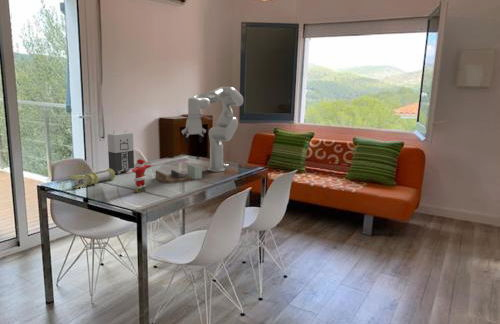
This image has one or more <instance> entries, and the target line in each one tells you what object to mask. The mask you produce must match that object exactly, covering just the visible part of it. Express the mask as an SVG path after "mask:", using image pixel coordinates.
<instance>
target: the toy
mask: <svg viewBox="0 0 500 324" xmlns="http://www.w3.org/2000/svg"><path fill="white" fill-rule="evenodd" d="M134 149H135V148H134V133H133V132H128V130H127V129H125V130H124V132H117V133H116V131H115V130H113V132H112V133H107V150H108V152H107V155H108V169H112V170H113V171H114V172H115V174H117V175H120V174H121V172H122V171H123V172H128V171H129V170H131V169H134V168H135V156H134V155H135V154H134V153H135V152H134Z"/></svg>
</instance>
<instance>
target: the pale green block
mask: <svg viewBox="0 0 500 324" xmlns="http://www.w3.org/2000/svg"><path fill="white" fill-rule="evenodd" d="M202 169H203V168H202V166H201V165H198V164H197V163H187V171H186V172H187V175H186V176H188V177H190V178H191V179H194V180H199V179H202V178H203V170H202Z"/></svg>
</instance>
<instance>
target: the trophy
mask: <svg viewBox="0 0 500 324" xmlns="http://www.w3.org/2000/svg"><path fill="white" fill-rule="evenodd" d="M69 178H70V179H71V180H73V184H74V185H71V188H75V187H76V188H75V189H78V188H79V187H80V188H81V187H85V188H86V187H88V186H92V184H96V185H97V184H98V183H99V181H104V180H109V181H113V180H115V178H116V173H115V172H114V171H113V170H112V169H109V168H107V169H106V170H105V171H103V172H99V173H96V172H93V171H90V172H89V173H85V174H73V175H70V176H69Z"/></svg>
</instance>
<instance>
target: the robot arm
mask: <svg viewBox="0 0 500 324" xmlns="http://www.w3.org/2000/svg"><path fill="white" fill-rule="evenodd" d="M220 101H221V104H222V111H221V113H220V114H219V117H218V119H217V120H216V126H213V127H211V128H210V129H208V138H209V167H208V168H207V171H209V172H213V173H214V172H216V173H217V172H220V173H221V172H224V171H226V168H228V167H230V165H229V164H227V163H224V144H223V142H229V141H230V140H232V139H233V136H234V134H235V132H236V130H237V129H238V127H239V126H238V125H239V120H238V118H237V117H236V116H234V110H233V109H232V107H241V106H242V105H243V104H244V97H243V95H242V94H241V93H240V92H239V91H238V90H237V89H236V88H235V87H232V86H220V87H218V88H216V89H213V90H210V91H207V92H203V93H202V92H201V93H199V94H196V95H194V96H192V97H189V98H188V99H187V109H188V110H187V113H188V114H187V115H188V117H187V119H186V123H185V128H184V129H182V130H181V133H182V135H183V137H185V140H184V141H185V144H188V145H189V144H190V138H189V136H190V135H199V138H198V139H199V141H198V142H199V143H203V141H204V136H205V135H206V133H207V129H205V128H204V127H203V125H202V123H203V122H202V117H203V115H202V114H201V110H206V109H208V108H210V106H211V104H215V103H218V102H220Z"/></svg>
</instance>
